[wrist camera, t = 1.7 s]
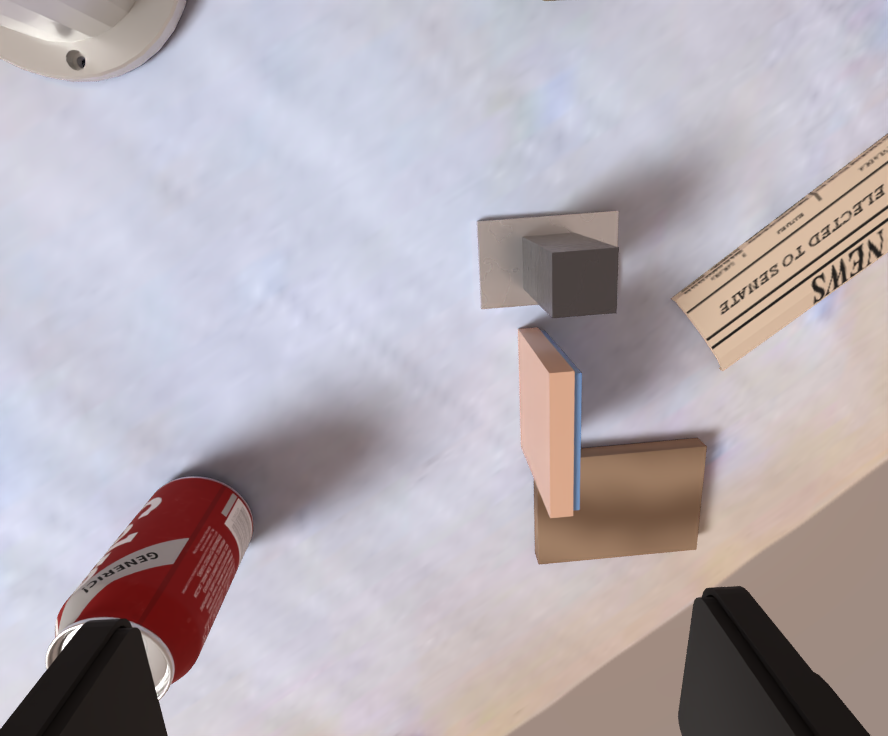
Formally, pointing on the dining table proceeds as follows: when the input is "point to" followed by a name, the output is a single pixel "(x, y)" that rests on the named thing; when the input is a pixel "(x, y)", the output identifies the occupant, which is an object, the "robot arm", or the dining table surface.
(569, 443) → the tile
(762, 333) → the newspaper
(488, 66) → the dining table surface
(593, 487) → the board
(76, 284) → the dining table surface
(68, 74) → the robot arm
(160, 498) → the soda can
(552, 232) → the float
